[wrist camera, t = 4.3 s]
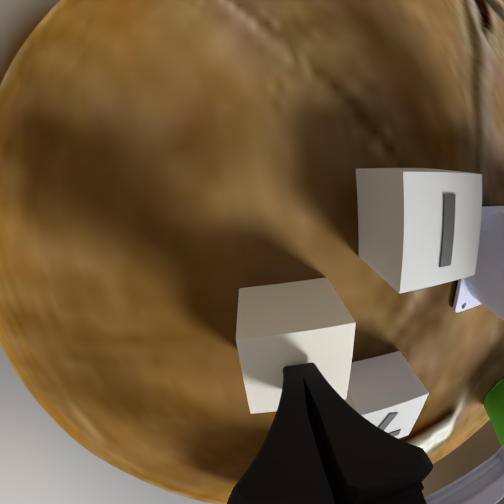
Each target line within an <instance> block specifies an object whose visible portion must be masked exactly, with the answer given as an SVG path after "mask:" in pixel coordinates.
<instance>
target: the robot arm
mask: <svg viewBox="0 0 504 504" xmlns="http://www.w3.org/2000/svg"><path fill="white" fill-rule="evenodd" d="M480 304H483V305H484V306H486V307H487V308H488V309H489V310H491V311H492V312H493V313H495V314H496V315H497V316H498V317H500V318H501V319H502V320H504V205H503V206H482V214H481V229H480V240H479V248H478V256H477V263H476V269H475V275H473V276H470V277H466V278H462V279H459V280H458V284H457V290H456V295H455V300H454V304H453V310H454V311H455V312H456V313H458V312H461V311H464V310H467V309H469V308H472V307H475V306H478V305H480ZM432 468H433V465H432V463H431V461H430V459H429V457H428V456H427V454H426V453H425V452H424V450H423V449H422V448H420V447H417V446H414V445H412V444H409V443H407V442H404V441H402V440H400V439H398V438H396V437H394V436H392V435H390V434H389V433H387V432H385V431H383V430H382V429H380V428H378V427H377V426H375V425H374V424H372V423H371V422H370V421H368V420H367V419H365V418H364V417H363V416H362V415H360V414H359V413H358V412H357V411H355V410H354V409H353V408H352V407H351V406H350V405H349V404H348V403H347V402H346V401H345V400H344V399H343V398H342V397H341V396H340V395H339V394H338V393H337V392H336V391H335V390H334V388H333V387H332V386H331V385H330V384H329V383H328V381H327V380H326V379H325V378H324V376H323V375H322V374H321V372H320V371H319V369H318V368H317V366H316V365H315V364H314V363H313V362H312V363H305V364H299V365H292V366H285V367H284V368H283V386H282V392H281V397H280V401H279V405H278V409H277V412H276V415H275V418H274V421H273V424H272V426H271V429H270V431H269V433H268V435H267V438H266V440H265V442H264V444H263V446H262V447H261V449H260V451H259V453H258V455H257V456H256V458H255V459H254V461H253V462H252V464H251V466H250V467H249V469H248V470H247V471H246V473H245V474H244V475H243V477H242V478H241V479H240V480H239V482H238V483H237V484H236V485H235V487H234V488H233V490H232V492H231V495H230V497H229V499H228V502H227V504H496V503H497V502H498V501H500V500H501V499H502V498H503V497H504V445H503V446H502V447H501V448H500V449H499V450H498V452H497V453H496V454H494V455H493V456H492V457H490V458H489V459H488V460H486V461H485V462H484V463H482V464H481V465H480V466H478V467H476V468H475V469H473V470H472V471H470V472H469V473H467V474H466V475H464V476H463V477H461V478H459V479H458V480H456V481H454V482H453V483H451V484H449V485H447V486H446V487H444V488H442V489H440V490H438V491H436V492H435V493H432V494H431V495H428V496H427V497H424V496H423V493H422V491H421V490H423V488H424V487H423V485H422V481H423V479H424V478H425V477H426V476H427V475H428V474H429V473H430V471H431V470H432Z"/></svg>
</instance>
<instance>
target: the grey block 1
mask: <svg viewBox="0 0 504 504" xmlns="http://www.w3.org/2000/svg"><path fill="white" fill-rule="evenodd" d="M355 170H356V183H357V200H358V231H359V258H361V259H362V260H363V261H364V262H365V263H366V264H367V265H369V266H370V267H371V268H372V269H373V270H374V271H375V272H376V273H378V274H379V275H380V276H381V277H382V278H383V279H384V280H385V281H386V282H387V283H389V284H390V285H391V286H392V287H393V288H394V289H395V290H396V291H397V292H398V293H404V292H409V291H413V290H418V289H422V288H426V287H431V286H435V285H439V284H443V283H447V282H451V281H455V280H459V279H462V278H466V277H470V276H473V275H475V269H476V263H477V256H478V248H479V240H480V229H481V214H482V174H476V173H468V172H460V171H451V170H441V169H430V168H359V169H355Z"/></svg>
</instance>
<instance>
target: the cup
mask: <svg viewBox="0 0 504 504" xmlns="http://www.w3.org/2000/svg"><path fill="white" fill-rule="evenodd" d="M484 407H485V409H486V411H487V414H488V416H489V418H490V420H491V422H492V425H493V427H494V429H495V432H496V434H497V437H498V439H499V442H500V444H501V447H502V446H503V445H504V378H503V379H501V380H500V381H499V382H498V383H497V384H496V385H495V386H494V387H493V388H492V389H491V390H490V392H489V393H488V394H487V396H486V397H485V399H484Z"/></svg>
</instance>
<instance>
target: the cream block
mask: <svg viewBox="0 0 504 504" xmlns="http://www.w3.org/2000/svg"><path fill="white" fill-rule="evenodd" d="M355 324H356V322H355V321H354V319H353V317H352V316H351V314H350V313H349V311H348V310H347V308H346V307H345V305H344V304H343V302H342V300H341V299H340V297H339V296H338V294H337V293H336V291H335V290H334V288H333V287H332V285H331V284H330V282H329V281H328V279H327V278H319V279H311V280H304V281H296V282H288V283H280V284H272V285H264V286H255V287H246V288H239V297H238V311H237V326H236V344H237V349H238V354H239V359H240V364H241V369H242V374H243V379H244V384H245V389H246V394H247V399H248V403H249V408H250V413H251V414H252V413H264V412H274V411H277V409H278V405H279V401H280V397H281V392H282V386H283V368H284V367H285V366H292V365H299V364H305V363H312V362H313V363H314V364H315V365H316V366H317V368H318V369H319V371H320V372H321V374H322V375H323V376H324V378H325V379H326V380H327V381H328V383H329V384H330V385H331V386H332V387H333V388H334V390H335V391H336V392H337V393H338V394H339V395H340V396H341V397H342V398H343V399H344V400H345V399H346V397H347V391H348V385H349V378H350V371H351V363H352V355H353V346H354V336H355Z"/></svg>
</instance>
